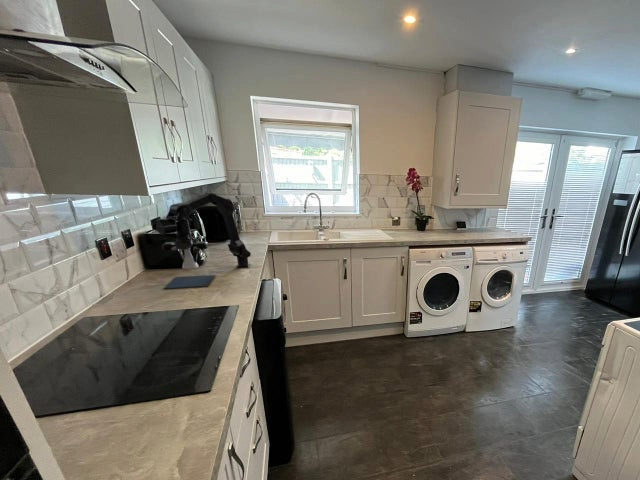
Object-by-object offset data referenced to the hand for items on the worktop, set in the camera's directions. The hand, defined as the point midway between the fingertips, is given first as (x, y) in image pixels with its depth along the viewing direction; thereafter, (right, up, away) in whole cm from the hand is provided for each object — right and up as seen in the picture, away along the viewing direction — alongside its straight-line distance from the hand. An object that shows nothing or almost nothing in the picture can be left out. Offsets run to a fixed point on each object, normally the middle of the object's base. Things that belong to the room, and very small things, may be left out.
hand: (189, 262), depth 162 cm
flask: (0, -3, +1) cm, 3 cm away
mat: (0, -10, +1) cm, 10 cm away
